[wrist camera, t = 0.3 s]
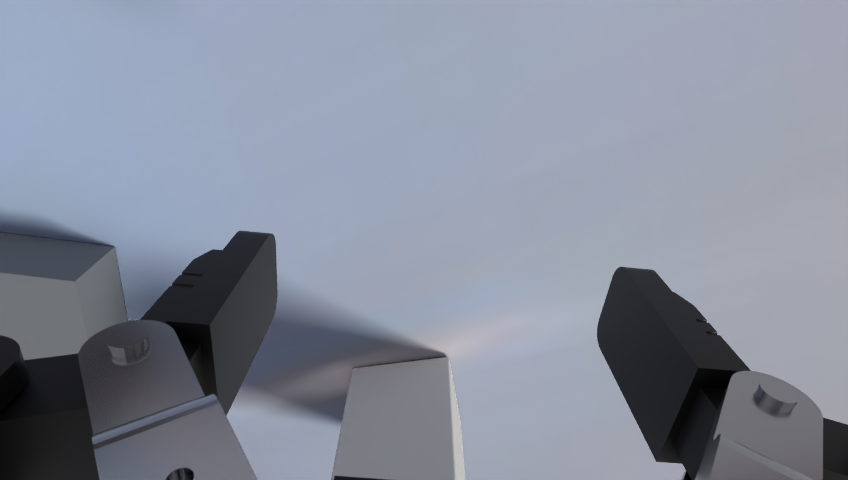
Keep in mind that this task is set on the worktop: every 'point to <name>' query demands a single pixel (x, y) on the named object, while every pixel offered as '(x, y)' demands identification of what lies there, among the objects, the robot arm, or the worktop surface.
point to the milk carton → (401, 423)
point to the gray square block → (57, 293)
